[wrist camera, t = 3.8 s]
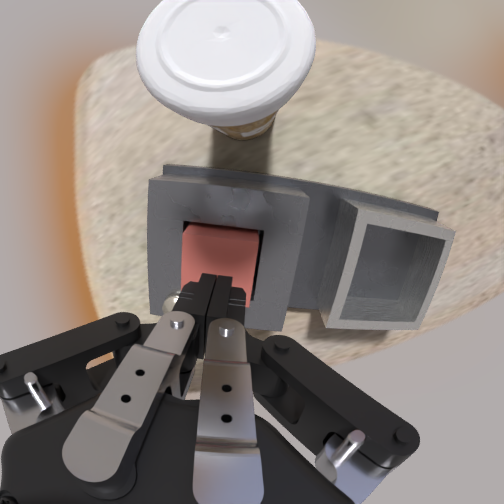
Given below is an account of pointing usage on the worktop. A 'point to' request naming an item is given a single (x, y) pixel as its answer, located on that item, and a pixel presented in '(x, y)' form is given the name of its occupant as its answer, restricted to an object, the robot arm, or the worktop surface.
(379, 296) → the grey push button box
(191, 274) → the button
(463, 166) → the worktop surface
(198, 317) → the robot arm
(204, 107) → the sprinkles bottle
